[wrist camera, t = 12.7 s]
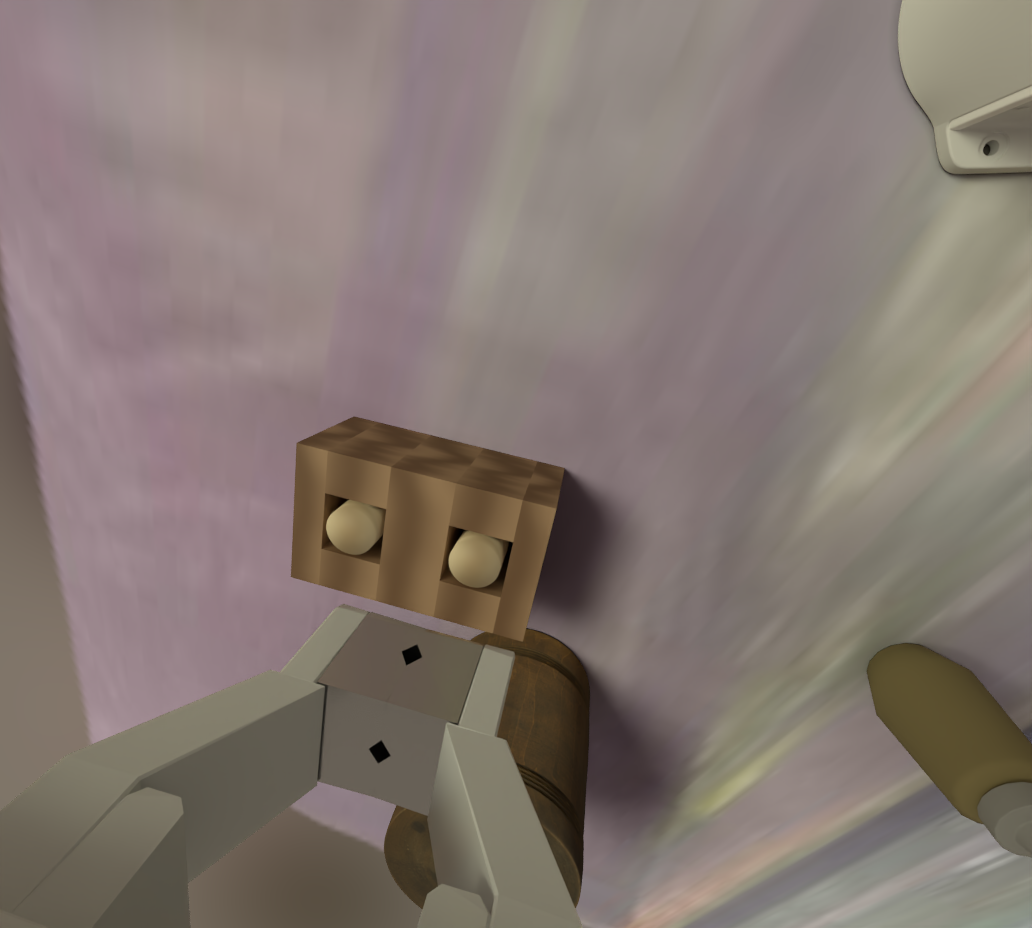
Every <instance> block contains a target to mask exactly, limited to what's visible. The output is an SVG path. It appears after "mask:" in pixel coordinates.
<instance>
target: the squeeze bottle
mask: <svg viewBox="0 0 1032 928" xmlns="http://www.w3.org/2000/svg"><path fill="white" fill-rule="evenodd" d="M867 675H868V679H869V684H870V688H871V693H872V697H873V701H874V706H875V710H876V714H877V716H878V717H879V718H880V719H881V720H882V722H883V723H884V724H885V725H886V726H887V728H888V729H889V730H890V731H891V732H892V733H893V735H894V736H895V737H896V738H897V739H898V741H899V742H900V743H901V744H902V745H903V747H904V748H905V749H906V750H907V751H908V752H909V754H910V755H911V756H912V757H913V758H914V760H915V761H916V762H917V763H918V764H919V766H920V767H921V768H922V769H923V770H924V771H925V773H926V774H927V775H928V776H929V777H930V779H931V780H932V781H933V782H934V783H935V785H936V786H937V787H938V788H939V789H940V790H941V792H942V793H943V794H944V795H945V796H946V798H947V799H948V800H949V801H950V802H951V804H952V805H953V806H954V807H955V808H956V809H957V810H958V811H959V812H960V814H961V815H963V816H965V817H967V818H969V819H971V820H973V821H975V822H977V823H980V824H984V825H985V826H986V828H987V829H988V830H989V832H990V833H991V834H992V836H993V837H994V838H995V840H996V841H997V842H998V843H999V844H1000V845H1001V846H1002V847H1003V848H1004V849H1006V850H1008V851H1010V852H1012V853H1015V854H1017V855H1022V856H1028V857H1032V744H1031V743H1030V741H1029V740H1028V739H1027V738H1026V737H1025V735H1024V734H1023V733H1022V732H1021V730H1020V729H1019V728H1018V727H1017V726H1016V724H1015V723H1014V722H1013V721H1012V720H1011V718H1010V717H1009V716H1008V715H1007V714H1006V712H1005V711H1004V710H1003V709H1002V708H1001V706H1000V705H999V704H998V703H997V701H996V700H995V699H994V698H993V697H992V695H991V694H990V693H989V692H988V691H987V689H986V688H985V687H984V686H983V685H982V683H981V682H980V681H979V680H978V679H977V677H976V676H975V675H974V674H973V673H972V671H970V670H968V669H966V668H964V667H962V666H961V665H959V664H957V663H955V662H953V661H951V660H949V659H947V658H945V657H943V656H941V655H939V654H937V653H935V652H934V651H932V650H930V649H927V648H925V647H923V646H921V645H917V644H908V643H903V644H898V645H892V646H889V647H887V648H885V649H883V650H881V651H879V652H878V653H877V654H876V655H875V656H874V657H873V658H872V659H871V660H870V662H869V665H868V668H867Z"/></svg>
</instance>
